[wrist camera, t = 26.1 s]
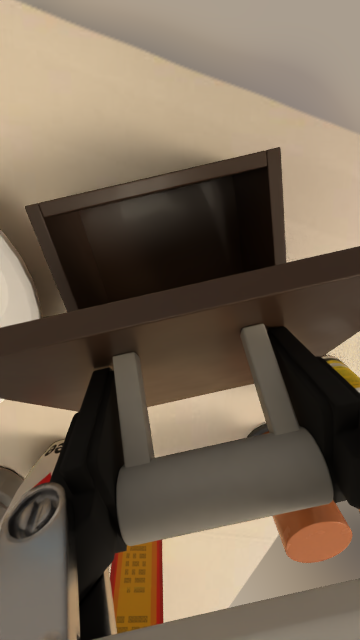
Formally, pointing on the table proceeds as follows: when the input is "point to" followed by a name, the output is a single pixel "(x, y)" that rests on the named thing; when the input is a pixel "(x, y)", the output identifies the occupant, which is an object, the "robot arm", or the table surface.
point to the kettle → (313, 532)
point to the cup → (39, 472)
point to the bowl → (15, 288)
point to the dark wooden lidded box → (164, 230)
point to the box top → (196, 387)
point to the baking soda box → (137, 586)
